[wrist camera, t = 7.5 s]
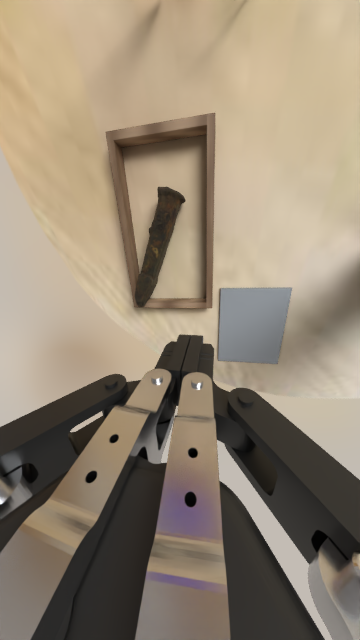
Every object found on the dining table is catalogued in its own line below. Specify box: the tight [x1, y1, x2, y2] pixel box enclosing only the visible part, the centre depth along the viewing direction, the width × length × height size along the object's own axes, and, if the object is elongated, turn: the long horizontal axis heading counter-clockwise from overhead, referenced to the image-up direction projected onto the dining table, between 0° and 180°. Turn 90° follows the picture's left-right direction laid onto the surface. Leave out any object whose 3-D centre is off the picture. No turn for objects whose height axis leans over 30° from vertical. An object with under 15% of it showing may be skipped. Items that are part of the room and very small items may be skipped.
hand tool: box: [135, 187, 185, 307], centre depth 31 cm, size 19×4×5 cm, turn 160°
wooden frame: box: [106, 113, 215, 308], centre depth 31 cm, size 15×26×2 cm, turn 3°
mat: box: [218, 288, 292, 364], centre depth 37 cm, size 12×16×1 cm
